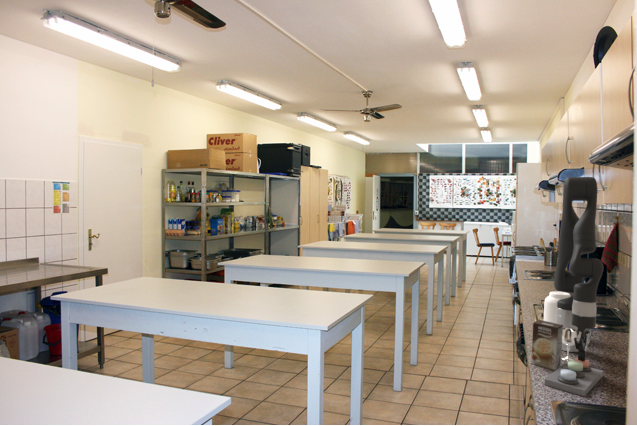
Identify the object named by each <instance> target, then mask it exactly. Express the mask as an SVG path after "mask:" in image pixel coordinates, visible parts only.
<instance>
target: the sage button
mask: <svg viewBox="0 0 637 426" xmlns="http://www.w3.org/2000/svg"><path fill="white" fill-rule="evenodd" d="M567 362H568V368H569V369H571V370H574V371H583V363H581V362H578V361H567Z"/></svg>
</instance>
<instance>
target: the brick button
mask: <svg viewBox="0 0 637 426" xmlns="http://www.w3.org/2000/svg"><path fill="white" fill-rule="evenodd" d="M573 359H574V361H578V362H581V363H583V368H589V367H590V361H589V360H588V359H586V360H585V361H580V360H578V357H575V358H573Z"/></svg>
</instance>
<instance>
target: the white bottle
mask: <svg viewBox="0 0 637 426" xmlns="http://www.w3.org/2000/svg"><path fill="white" fill-rule="evenodd" d="M548 294H549V295H547V296H546V297H545V299H544V305H543V307H544V308H543V321H547V322H552V323H556V320H557V302H558V300H560V299H565V298H568V297H570V296H571V293H569V292H560V291H557V290H554V291H550V292H549V293H548Z"/></svg>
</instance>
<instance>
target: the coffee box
mask: <svg viewBox="0 0 637 426" xmlns="http://www.w3.org/2000/svg"><path fill="white" fill-rule="evenodd" d="M562 334H563V325H560V324H556V323H552V322H547V321H544V319H543V320H542V319H537V320H536V321H534V322H533V323H532V340H531V356H530V357H531V360H530V364H532V365H536V366H539V367H542V368H545V369H549V370H553V371H555V370H557V369H558V368H559V367H560V366H562V363H561V362H562V359H561V358H562V351H563V350H562Z"/></svg>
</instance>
